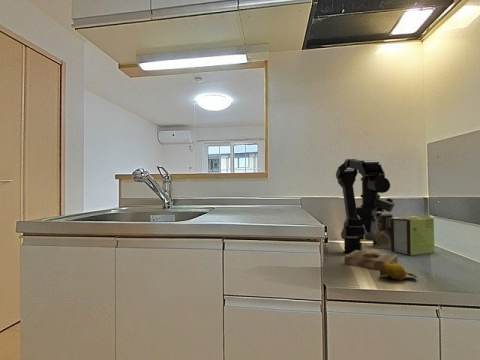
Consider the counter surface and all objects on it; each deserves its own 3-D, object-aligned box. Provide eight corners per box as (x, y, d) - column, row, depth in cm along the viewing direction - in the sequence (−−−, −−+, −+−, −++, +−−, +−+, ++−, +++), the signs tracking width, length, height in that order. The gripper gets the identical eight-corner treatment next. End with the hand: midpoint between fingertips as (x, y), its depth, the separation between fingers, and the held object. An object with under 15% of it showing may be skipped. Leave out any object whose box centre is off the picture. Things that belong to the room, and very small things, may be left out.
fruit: (421, 278, 101) (420, 263, 101) (401, 283, 95) (401, 267, 95) (389, 270, 110) (389, 256, 110) (370, 275, 104) (369, 260, 104)
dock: (344, 263, 121) (344, 256, 121) (356, 256, 132) (356, 249, 132) (388, 270, 111) (388, 262, 111) (397, 262, 122) (397, 255, 122)
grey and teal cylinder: (363, 239, 121) (362, 214, 121) (366, 237, 124) (366, 213, 124) (374, 240, 118) (374, 214, 118) (378, 239, 122) (377, 213, 122)
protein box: (435, 252, 139) (434, 217, 139) (410, 255, 133) (410, 219, 133) (413, 248, 148) (413, 215, 148) (390, 251, 142) (389, 217, 142)
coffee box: (393, 246, 151) (392, 213, 151) (393, 249, 145) (393, 215, 145) (373, 245, 155) (372, 213, 155) (372, 247, 149) (372, 214, 149)
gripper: (385, 193, 109) (386, 237, 109) (397, 191, 124) (398, 230, 124) (354, 192, 116) (354, 234, 116) (368, 191, 131) (369, 228, 131)
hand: (370, 231), depth 121 cm, fingers closed on grey and teal cylinder, 4 cm apart
